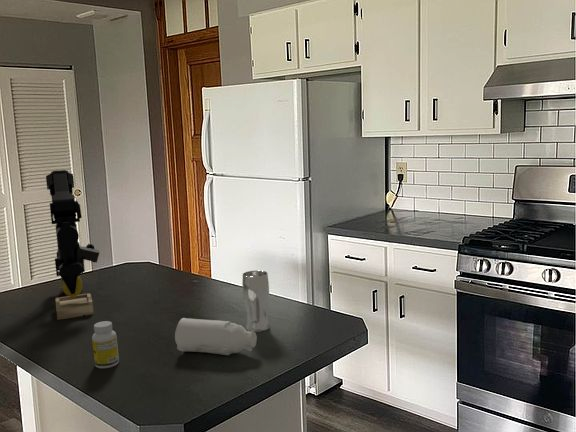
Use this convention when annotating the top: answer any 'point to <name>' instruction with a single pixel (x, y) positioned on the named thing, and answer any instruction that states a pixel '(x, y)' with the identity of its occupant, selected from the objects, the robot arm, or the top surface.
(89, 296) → the wooden serving tray
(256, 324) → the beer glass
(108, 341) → the supplement bottle
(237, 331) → the white plastic bottle
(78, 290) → the lemon
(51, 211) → the robot arm
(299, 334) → the top surface
